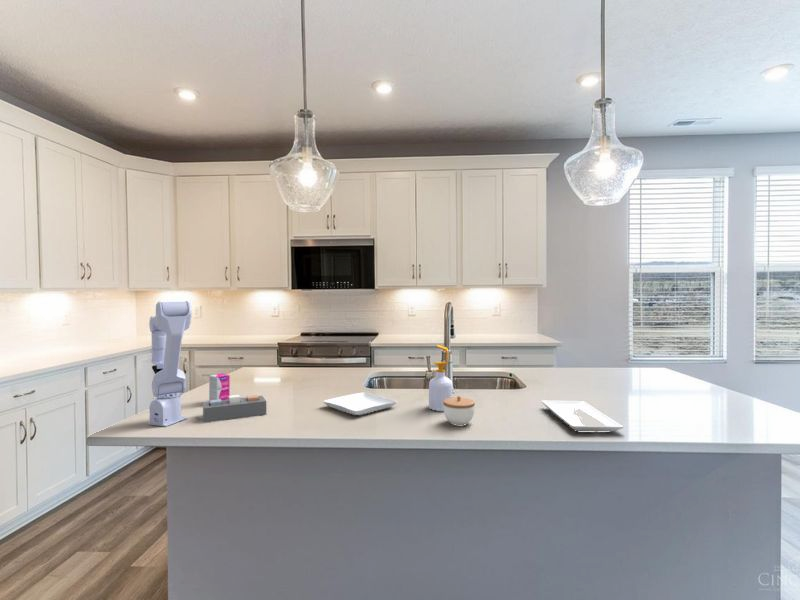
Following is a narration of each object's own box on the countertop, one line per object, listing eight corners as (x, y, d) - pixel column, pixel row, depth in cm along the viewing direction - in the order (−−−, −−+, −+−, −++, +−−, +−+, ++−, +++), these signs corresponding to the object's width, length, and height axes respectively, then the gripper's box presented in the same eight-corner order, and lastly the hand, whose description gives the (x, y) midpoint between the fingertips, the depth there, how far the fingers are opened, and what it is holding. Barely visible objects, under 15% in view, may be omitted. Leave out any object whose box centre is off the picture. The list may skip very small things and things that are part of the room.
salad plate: (363, 398, 184) (363, 390, 184) (398, 408, 169) (398, 400, 169) (321, 408, 169) (321, 400, 169) (355, 420, 154) (355, 411, 154)
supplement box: (216, 405, 172) (216, 377, 172) (208, 403, 176) (208, 375, 175) (230, 402, 177) (229, 374, 176) (222, 400, 180) (221, 372, 180)
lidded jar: (441, 418, 155) (441, 392, 155) (470, 418, 156) (470, 392, 155) (445, 428, 144) (446, 400, 144) (477, 428, 145) (477, 400, 145)
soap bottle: (430, 404, 174) (430, 343, 173) (453, 405, 172) (453, 344, 171) (427, 410, 165) (427, 346, 164) (451, 412, 163) (451, 347, 162)
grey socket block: (204, 422, 151) (203, 408, 151) (202, 415, 159) (202, 402, 159) (266, 414, 160) (266, 401, 160) (262, 408, 168) (262, 395, 168)
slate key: (210, 413, 154) (210, 402, 154) (210, 411, 157) (210, 400, 157) (221, 412, 156) (221, 401, 156) (220, 409, 159) (220, 399, 159)
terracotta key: (248, 409, 160) (248, 398, 160) (247, 406, 163) (246, 396, 163) (258, 407, 162) (258, 397, 161) (257, 405, 165) (256, 395, 165)
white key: (229, 408, 157) (229, 397, 157) (228, 406, 160) (228, 395, 160) (240, 407, 159) (240, 396, 159) (239, 405, 162) (239, 394, 162)
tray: (583, 408, 169) (583, 399, 169) (624, 436, 138) (625, 426, 138) (539, 408, 169) (540, 399, 169) (571, 436, 138) (571, 425, 138)
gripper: (172, 350, 158) (172, 387, 159) (172, 345, 171) (173, 379, 172) (150, 351, 155) (150, 389, 156) (152, 346, 168) (152, 380, 169)
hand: (161, 384), depth 164 cm, fingers closed
